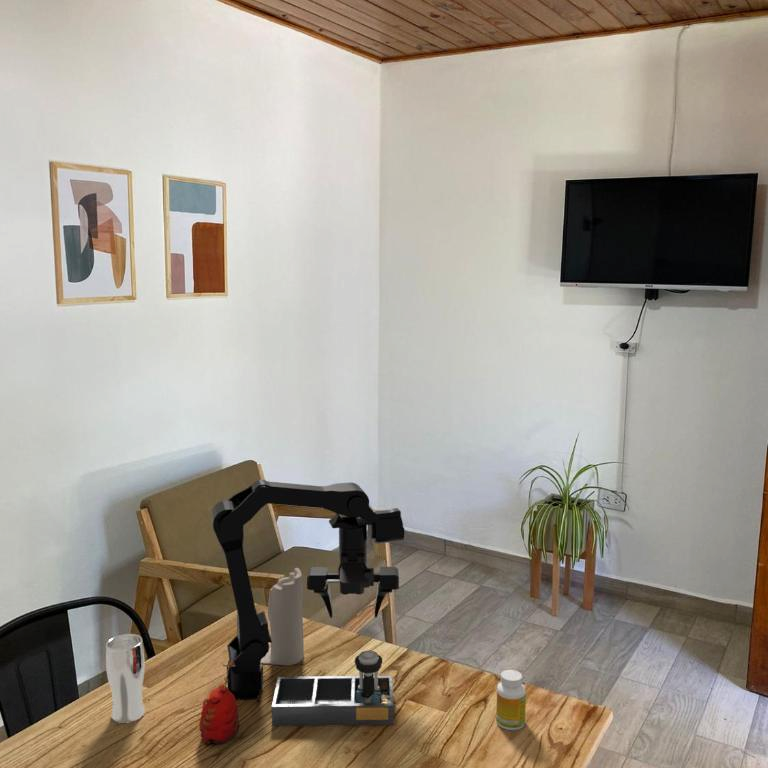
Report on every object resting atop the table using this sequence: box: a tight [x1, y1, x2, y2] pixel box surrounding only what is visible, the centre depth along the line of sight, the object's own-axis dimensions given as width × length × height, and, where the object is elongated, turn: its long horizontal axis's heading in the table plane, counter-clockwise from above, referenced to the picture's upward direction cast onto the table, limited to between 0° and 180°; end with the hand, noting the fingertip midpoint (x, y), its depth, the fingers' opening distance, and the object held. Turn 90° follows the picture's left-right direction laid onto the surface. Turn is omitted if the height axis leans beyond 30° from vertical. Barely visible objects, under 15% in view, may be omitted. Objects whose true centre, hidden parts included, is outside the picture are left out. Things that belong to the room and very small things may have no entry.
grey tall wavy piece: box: [260, 567, 305, 666], centre depth 171 cm, size 7×14×20 cm, turn 82°
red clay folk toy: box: [198, 659, 240, 745], centre depth 143 cm, size 8×7×15 cm
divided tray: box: [271, 675, 395, 727], centre depth 152 cm, size 23×11×4 cm, turn 91°
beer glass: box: [105, 633, 146, 724], centre depth 150 cm, size 7×7×15 cm
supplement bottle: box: [495, 669, 527, 731], centre depth 147 cm, size 5×5×10 cm
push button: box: [354, 649, 389, 703], centre depth 152 cm, size 7×5×10 cm
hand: (353, 617), depth 163 cm, fingers open, 9 cm apart
